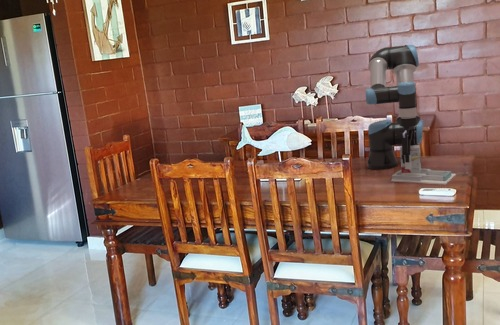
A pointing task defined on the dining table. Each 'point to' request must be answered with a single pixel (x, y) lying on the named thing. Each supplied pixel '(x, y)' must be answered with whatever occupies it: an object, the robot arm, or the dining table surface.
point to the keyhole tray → (424, 177)
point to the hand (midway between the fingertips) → (411, 167)
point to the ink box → (412, 160)
